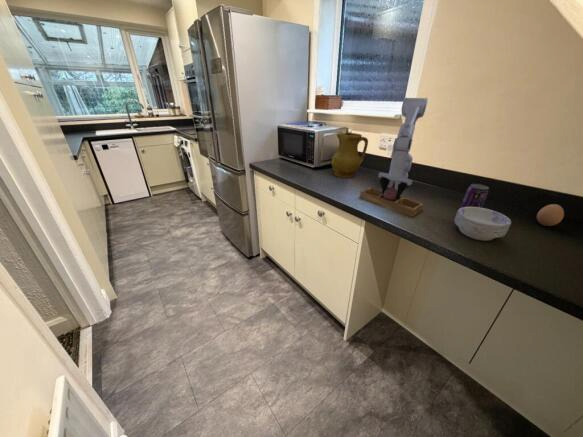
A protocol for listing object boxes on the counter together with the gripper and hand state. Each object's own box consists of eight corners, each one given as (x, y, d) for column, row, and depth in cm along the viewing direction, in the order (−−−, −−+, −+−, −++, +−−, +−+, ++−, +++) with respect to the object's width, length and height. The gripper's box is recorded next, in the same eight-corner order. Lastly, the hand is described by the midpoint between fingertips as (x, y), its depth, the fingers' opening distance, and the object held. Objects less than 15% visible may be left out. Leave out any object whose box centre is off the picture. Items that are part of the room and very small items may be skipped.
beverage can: (472, 217, 97) (484, 190, 91) (455, 210, 102) (465, 185, 97) (482, 214, 100) (494, 187, 94) (465, 207, 105) (475, 182, 100)
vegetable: (398, 202, 107) (403, 181, 102) (392, 205, 103) (397, 184, 98) (386, 198, 111) (390, 178, 106) (379, 201, 107) (384, 181, 102)
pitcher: (337, 168, 157) (342, 129, 144) (363, 175, 148) (372, 134, 135) (324, 175, 145) (329, 133, 132) (352, 183, 136) (361, 139, 123)
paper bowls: (443, 222, 93) (450, 204, 89) (484, 224, 91) (492, 206, 88) (464, 244, 79) (473, 224, 76) (512, 247, 78) (524, 226, 74)
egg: (529, 223, 93) (541, 203, 89) (536, 219, 96) (548, 199, 92) (552, 231, 88) (566, 210, 83) (559, 226, 91) (572, 206, 86)
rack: (369, 193, 119) (370, 187, 117) (421, 210, 102) (423, 203, 100) (359, 198, 113) (360, 191, 112) (412, 217, 97) (414, 209, 95)
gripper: (377, 164, 102) (371, 193, 108) (410, 172, 92) (402, 203, 99) (385, 162, 106) (379, 189, 112) (417, 169, 96) (409, 199, 103)
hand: (390, 196), depth 106 cm, fingers closed on vegetable, 6 cm apart
